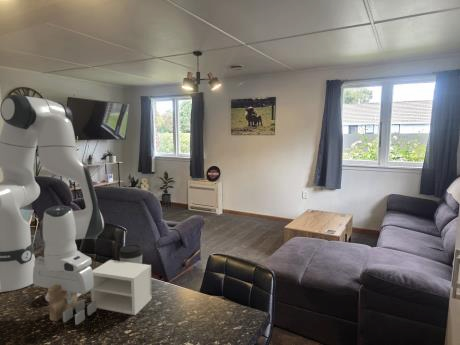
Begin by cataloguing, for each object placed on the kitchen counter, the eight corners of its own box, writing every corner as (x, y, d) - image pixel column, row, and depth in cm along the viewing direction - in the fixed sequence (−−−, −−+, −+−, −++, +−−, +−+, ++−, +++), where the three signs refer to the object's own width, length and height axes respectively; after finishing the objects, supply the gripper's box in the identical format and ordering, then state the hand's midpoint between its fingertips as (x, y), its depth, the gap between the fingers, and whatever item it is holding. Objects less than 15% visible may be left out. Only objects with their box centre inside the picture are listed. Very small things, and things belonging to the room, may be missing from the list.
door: (47, 319, 91) (45, 288, 90) (69, 304, 99) (68, 275, 98) (56, 321, 90) (54, 289, 89) (77, 306, 98) (76, 276, 97)
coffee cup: (136, 294, 106) (135, 253, 104) (115, 291, 107) (113, 251, 106) (147, 283, 114) (146, 245, 112) (127, 280, 115) (126, 243, 114)
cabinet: (63, 321, 89) (60, 283, 88) (105, 290, 108) (104, 258, 106) (116, 333, 85) (115, 292, 83) (151, 298, 103) (150, 265, 101)
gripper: (25, 259, 92) (28, 302, 94) (80, 267, 87) (83, 312, 88) (43, 252, 98) (45, 292, 100) (96, 259, 93) (98, 301, 94)
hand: (63, 301), depth 94 cm, fingers closed on door, 2 cm apart
